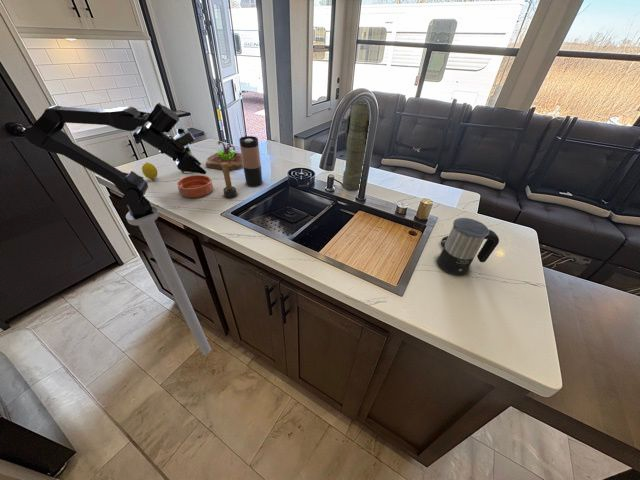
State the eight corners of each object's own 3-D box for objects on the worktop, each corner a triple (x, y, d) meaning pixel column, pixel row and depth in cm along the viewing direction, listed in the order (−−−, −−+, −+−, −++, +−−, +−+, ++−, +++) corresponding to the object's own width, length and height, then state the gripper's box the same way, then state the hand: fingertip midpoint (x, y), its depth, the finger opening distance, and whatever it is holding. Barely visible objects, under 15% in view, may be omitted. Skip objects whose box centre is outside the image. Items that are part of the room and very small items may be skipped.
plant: (215, 154, 142) (211, 134, 135) (250, 156, 142) (247, 136, 135) (201, 169, 127) (195, 146, 120) (240, 171, 126) (236, 149, 119)
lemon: (162, 178, 117) (156, 162, 112) (150, 183, 113) (143, 166, 108) (155, 175, 119) (149, 159, 114) (143, 180, 115) (136, 162, 110)
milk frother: (448, 278, 75) (469, 239, 66) (418, 245, 87) (432, 207, 77) (487, 270, 78) (512, 231, 69) (453, 239, 90) (470, 202, 81)
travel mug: (255, 178, 121) (250, 134, 109) (266, 183, 118) (261, 139, 105) (242, 183, 117) (235, 138, 104) (253, 188, 113) (246, 143, 100)
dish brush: (229, 199, 105) (222, 167, 96) (222, 195, 107) (215, 163, 99) (239, 195, 108) (233, 163, 99) (232, 191, 110) (226, 160, 102)
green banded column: (359, 193, 113) (372, 107, 92) (336, 186, 118) (343, 102, 96) (367, 186, 119) (381, 103, 98) (345, 179, 124) (354, 99, 102)
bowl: (190, 202, 102) (186, 192, 99) (174, 191, 108) (170, 181, 105) (219, 191, 110) (217, 181, 107) (203, 181, 116) (200, 172, 114)
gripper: (179, 128, 78) (222, 160, 89) (171, 116, 90) (210, 145, 102) (158, 157, 79) (203, 184, 90) (153, 141, 91) (193, 166, 103)
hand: (202, 168), depth 96 cm, fingers open, 9 cm apart
